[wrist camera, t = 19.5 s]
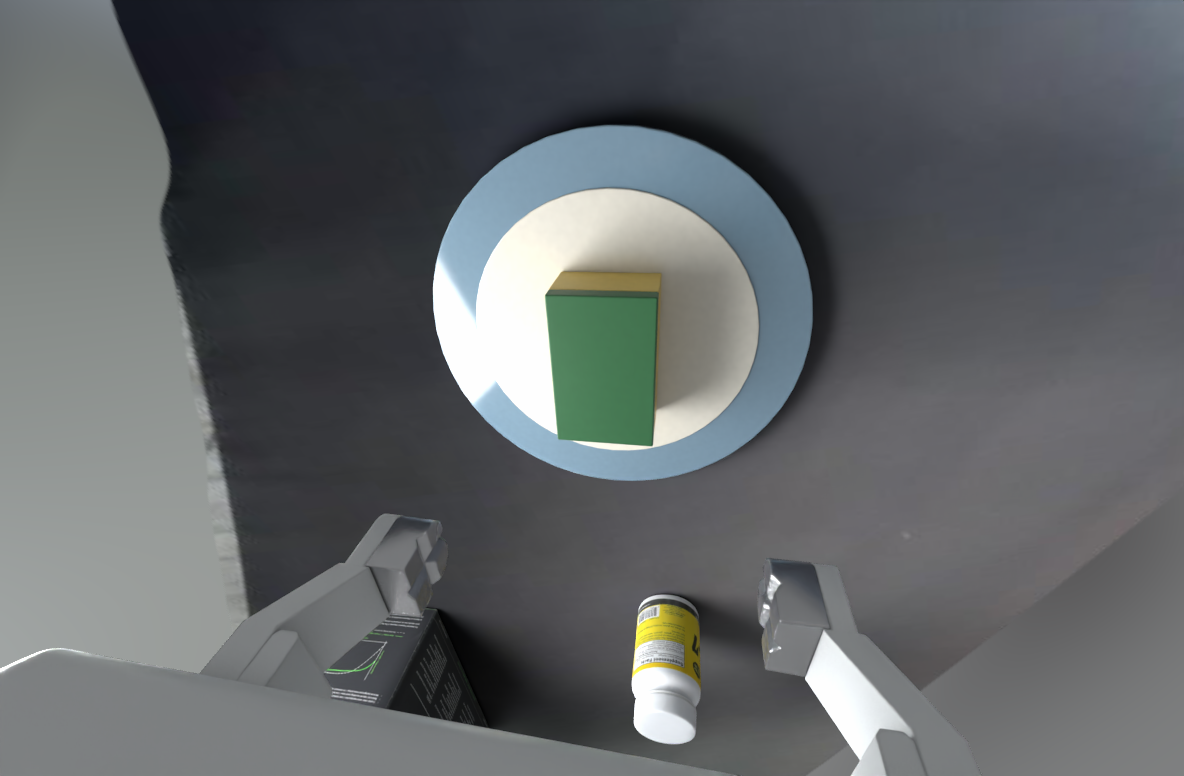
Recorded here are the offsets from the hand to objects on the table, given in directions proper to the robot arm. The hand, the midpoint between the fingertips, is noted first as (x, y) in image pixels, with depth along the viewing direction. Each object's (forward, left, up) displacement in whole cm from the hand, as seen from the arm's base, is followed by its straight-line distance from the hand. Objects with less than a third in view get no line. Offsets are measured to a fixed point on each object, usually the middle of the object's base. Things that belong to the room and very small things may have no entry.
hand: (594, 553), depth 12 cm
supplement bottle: (+25, +2, -16) cm, 30 cm away
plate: (+1, -2, -16) cm, 16 cm away
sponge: (+2, -2, -15) cm, 15 cm away
